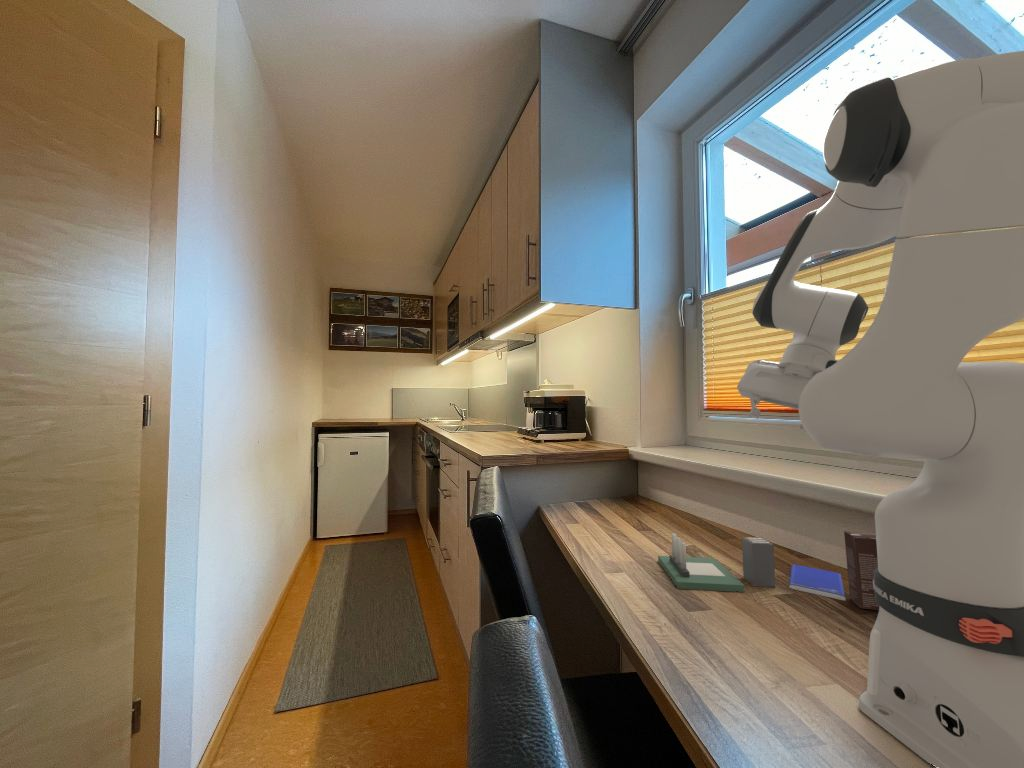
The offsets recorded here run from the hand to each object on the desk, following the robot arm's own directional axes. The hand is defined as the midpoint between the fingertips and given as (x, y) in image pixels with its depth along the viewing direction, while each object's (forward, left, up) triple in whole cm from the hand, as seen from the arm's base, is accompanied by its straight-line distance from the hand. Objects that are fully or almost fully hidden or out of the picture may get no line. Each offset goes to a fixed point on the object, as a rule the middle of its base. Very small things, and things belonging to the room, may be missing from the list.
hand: (777, 423), depth 81 cm
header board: (0, +17, -31) cm, 36 cm away
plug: (-2, +6, -31) cm, 32 cm away
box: (-10, -9, -32) cm, 34 cm away
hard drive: (-1, -5, -32) cm, 32 cm away
